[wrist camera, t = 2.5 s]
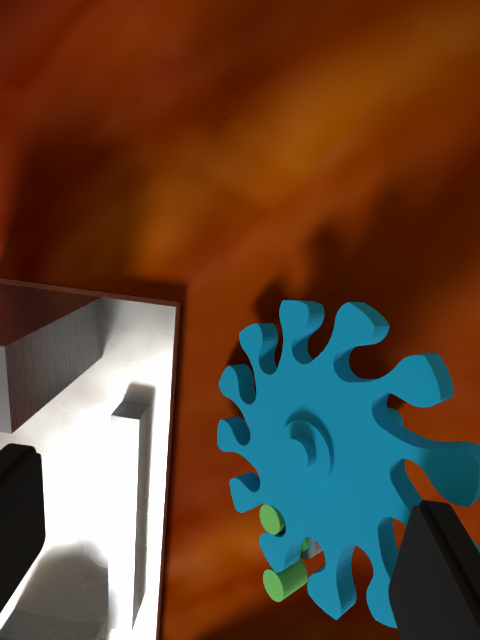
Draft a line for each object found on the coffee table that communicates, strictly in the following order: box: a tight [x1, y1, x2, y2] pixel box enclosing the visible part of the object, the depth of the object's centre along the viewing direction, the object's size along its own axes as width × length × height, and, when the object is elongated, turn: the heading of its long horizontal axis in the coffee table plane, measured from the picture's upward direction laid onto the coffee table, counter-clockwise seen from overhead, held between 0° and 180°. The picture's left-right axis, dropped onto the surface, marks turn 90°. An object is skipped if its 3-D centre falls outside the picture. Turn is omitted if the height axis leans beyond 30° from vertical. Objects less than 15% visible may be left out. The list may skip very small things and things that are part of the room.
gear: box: [217, 300, 480, 628], centre depth 14 cm, size 11×6×10 cm
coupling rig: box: [0, 278, 181, 640], centre depth 16 cm, size 11×21×7 cm, turn 174°
